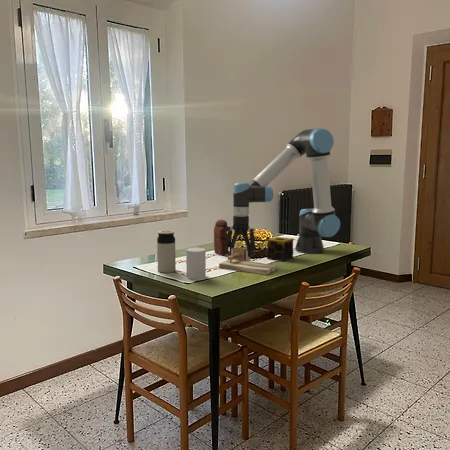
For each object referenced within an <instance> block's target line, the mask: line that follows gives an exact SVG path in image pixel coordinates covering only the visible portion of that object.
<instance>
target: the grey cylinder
mask: <svg viewBox="0 0 450 450" xmlns="http://www.w3.org/2000/svg"><path fill="white" fill-rule="evenodd" d="M206 253H207V252H206V249H205V248H203V247H189V248H186V253H185V254H186V256H185V257H186V264H185V266H186V278H187V279H189V280H193V279H194V280H195V281H196V280H203V279H206V275H207V274H206V270H207V269H206V268H207V267H206V266H207V265H206V260H207V259H206Z"/></svg>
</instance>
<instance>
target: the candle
mask: <svg viewBox="0 0 450 450" xmlns="http://www.w3.org/2000/svg"><path fill="white" fill-rule="evenodd" d="M266 242H267V243H266V244H267V246H266V249H267V250H266V259H267V260H270V261H271V260H272V261H279V262H286V261H289V260H290V259H291V260H292V259H293V257H294V238H290V237H280V236H275V237H271V238H268V239H267V240H266Z"/></svg>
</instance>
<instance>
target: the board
mask: <svg viewBox="0 0 450 450" xmlns="http://www.w3.org/2000/svg"><path fill="white" fill-rule="evenodd" d="M277 267H278V266H277V264H272V263H264V262H263V263H262V262H257V261H256V262H255V261H251V260H250V261H242V260H235V259H233V260H232V263H230V260H228V259H227V260H224V261H222V262H220V263H219V264H218V269H225V270H230V271H237V272H245V273H251V274H258V275H265V276H267V274H268V275H270V274H271V273H273V272H274V271H276V270H277Z"/></svg>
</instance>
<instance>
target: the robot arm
mask: <svg viewBox="0 0 450 450" xmlns="http://www.w3.org/2000/svg"><path fill="white" fill-rule="evenodd" d="M334 141H335V140H334V137H333V134H332V133H331V132H330V131H329V130H328V129H325V128H320V127H319V128H311V129H304V130H302V131H300V132H299V133H297V134H296V135H295V136H294V137H293V138H292V139H291V140H290V141H288V143H287V144H286V147H285V148H284V149H283V150H282V152H280V153H279V154H278V155H277V156H276V157H275V158H273V160H271V162H270V163H269V164H268V165H267V166H265V168H264V169H262V170H261V171H260V173H258V174H257V175H256V176H255V177H253V179H252V180H251V181H249V182H235V183H234V184H233V188H232V189H233V192H232V197H233V201H232V202H233V203H232V206H233V208H232V210H233V211H232V212H233V213H232V215H233V216H232V223H233V224H232V225H230V226H228V227H227V229H228V231H227V234H228V235H227V243H226V246H227V247H229V256H230V255H233V249H234V248H235V245H236V242H237V240H238V236H239V235H240V236H242V238H243V239H244V243H245V246H246V248H247V250H246V261H250V262H251V260H250V259H251V257H252V252H253V251H252V250H255V249H256V241H255V230H256V229H255V228H254V227H253V228H252V227H250V226H249V225H250V216H249V215H250V203H251V204H252V203H271V202H272V201H273V199H274V189H273V188H272V187H271V186H269V185H270V184H271V183H272V182H273V181H274V180H276V179H277V177H278V176H280V175H281V174H282V173H283V172H284V171H285V170H286V169H287V168H288V167H289V166H290V165H291V164H293V162H295V160H296V159H300V158H301V157H302V156H303V155H305V156H306V159H308V161H309V165H310V177H311V185H312V186H311V187H312V198H313V208H302V209H301V210H300V211H299V228H298V231H299V233H298V238H297V241H296V244H295V251H296V252H298V253H301V254H321V253H323V252H324V251H325V248H324V247H325V246H324V243H323V240H322V237H323V238H324V237H325V238H331V237H333V236H335V235H336V234H337V233H338V232H339V230H340V227H341V221H340V218H339V217H338V216H337V215H336V209H335V208H334V207H333V206H332V197H331V185H330V174H329V173H330V172H329V163H328V160H329V157H330V156H331V150H332V149H333V147H334ZM233 231H234V232H233Z"/></svg>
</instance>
